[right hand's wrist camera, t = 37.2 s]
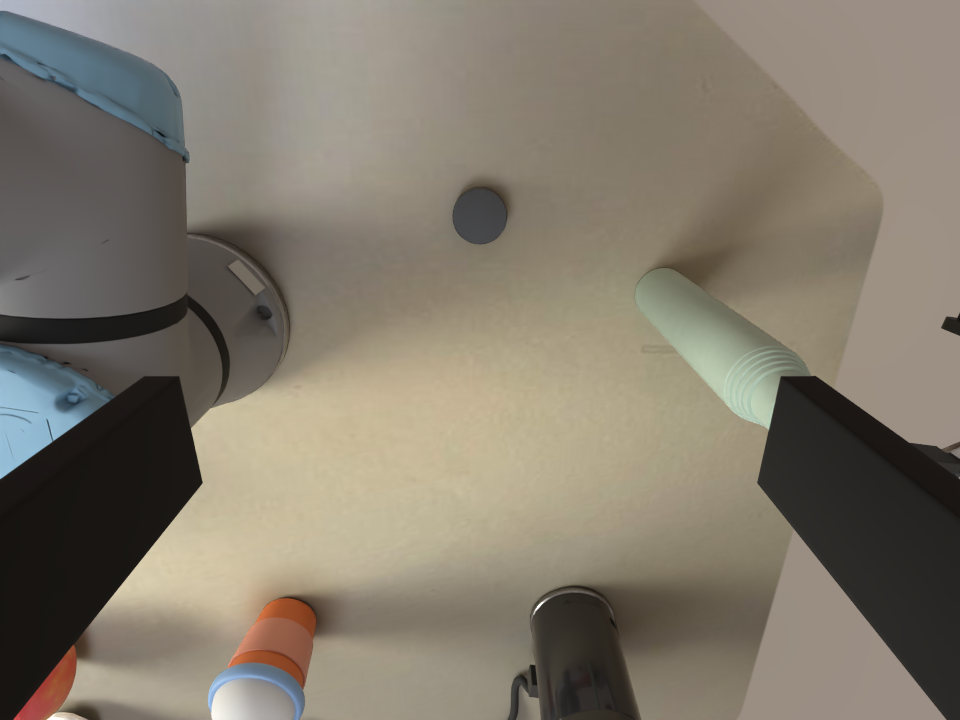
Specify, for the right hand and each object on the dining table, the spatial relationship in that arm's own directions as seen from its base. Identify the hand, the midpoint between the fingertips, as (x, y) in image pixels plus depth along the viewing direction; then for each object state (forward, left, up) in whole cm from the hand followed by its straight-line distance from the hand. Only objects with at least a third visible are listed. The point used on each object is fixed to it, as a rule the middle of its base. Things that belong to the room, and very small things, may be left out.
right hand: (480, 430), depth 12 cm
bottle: (+3, -17, -37) cm, 41 cm away
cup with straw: (-49, -6, -37) cm, 62 cm away
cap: (0, 0, -36) cm, 36 cm away
